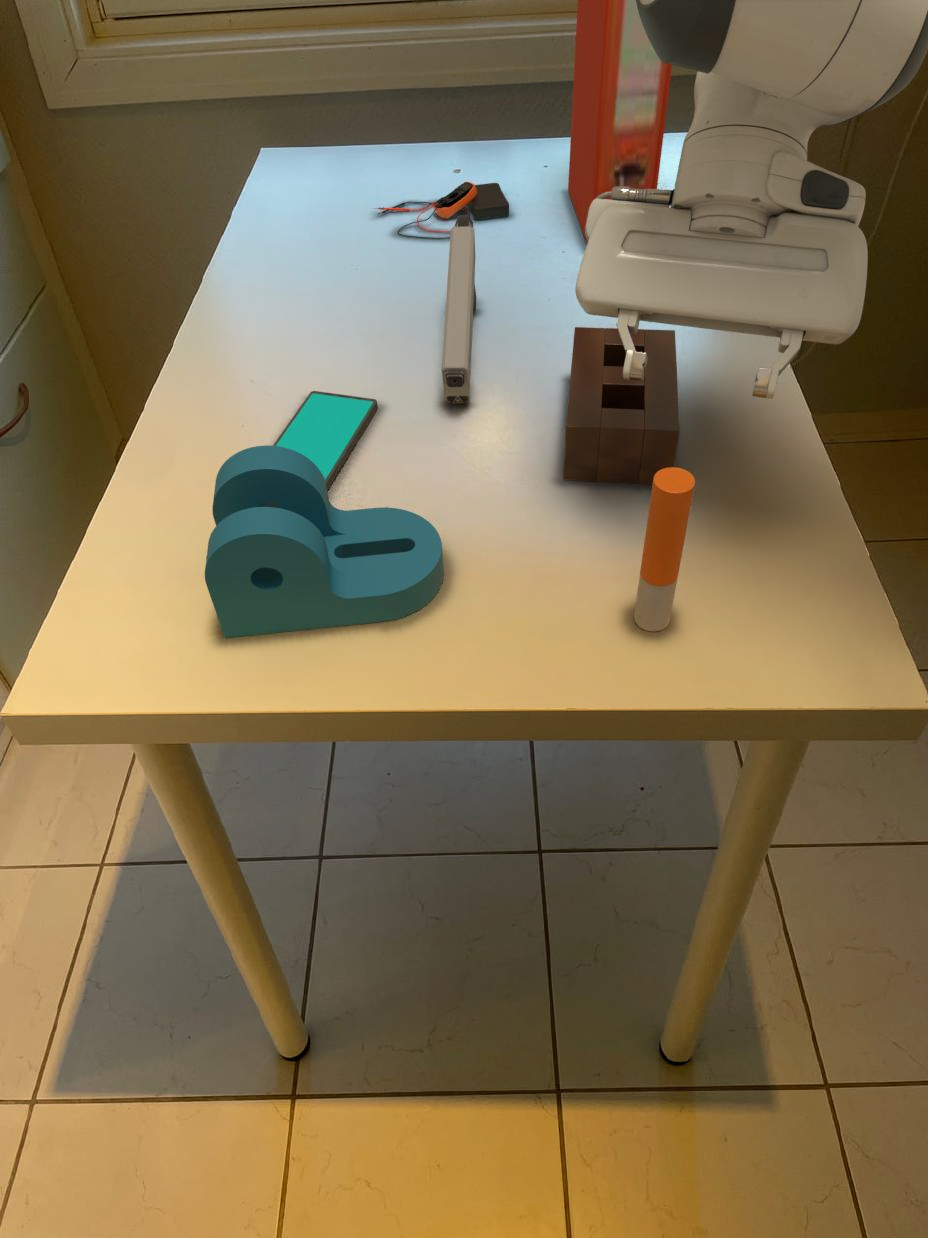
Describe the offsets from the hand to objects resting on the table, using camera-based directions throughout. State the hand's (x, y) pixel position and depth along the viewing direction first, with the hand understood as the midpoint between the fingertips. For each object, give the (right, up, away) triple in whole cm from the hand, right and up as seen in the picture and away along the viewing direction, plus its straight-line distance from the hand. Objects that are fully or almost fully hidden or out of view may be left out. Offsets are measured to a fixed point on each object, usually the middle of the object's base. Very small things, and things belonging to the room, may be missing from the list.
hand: (696, 387), depth 68 cm
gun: (-17, +12, +33) cm, 39 cm away
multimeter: (-20, +36, +55) cm, 69 cm away
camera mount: (-28, -14, +10) cm, 33 cm away
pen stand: (-2, +2, +22) cm, 23 cm away
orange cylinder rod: (-2, -17, +5) cm, 18 cm away
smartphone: (-31, 0, +22) cm, 39 cm away
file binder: (+2, +35, +54) cm, 64 cm away
